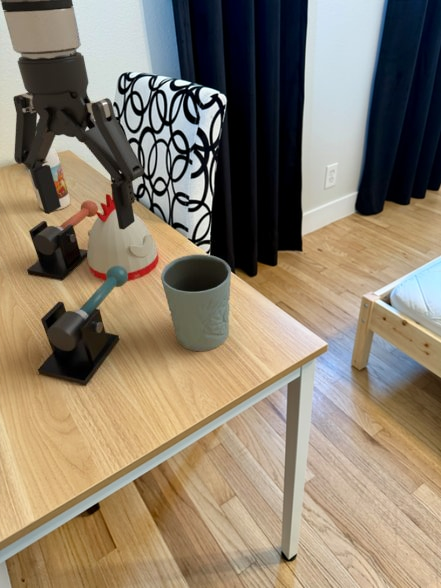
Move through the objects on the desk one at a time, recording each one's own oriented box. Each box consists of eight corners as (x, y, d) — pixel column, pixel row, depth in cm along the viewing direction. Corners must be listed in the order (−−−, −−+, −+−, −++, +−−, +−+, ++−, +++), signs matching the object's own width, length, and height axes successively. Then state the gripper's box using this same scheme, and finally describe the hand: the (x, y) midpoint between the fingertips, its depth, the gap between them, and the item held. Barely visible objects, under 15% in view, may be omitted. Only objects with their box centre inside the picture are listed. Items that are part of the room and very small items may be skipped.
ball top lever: (113, 279, 76) (108, 257, 73) (135, 282, 75) (131, 261, 72) (51, 347, 62) (43, 324, 60) (77, 353, 61) (70, 330, 58)
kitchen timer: (172, 256, 89) (164, 187, 80) (125, 289, 80) (110, 216, 71) (123, 238, 95) (111, 173, 86) (75, 268, 86) (55, 198, 77)
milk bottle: (45, 214, 106) (20, 131, 94) (35, 204, 111) (10, 124, 99) (75, 205, 110) (54, 125, 98) (64, 196, 115) (44, 118, 103)
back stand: (57, 249, 93) (47, 215, 88) (90, 254, 90) (82, 219, 86) (27, 274, 85) (14, 238, 80) (62, 280, 83) (51, 244, 78)
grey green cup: (243, 340, 68) (244, 278, 61) (186, 364, 64) (179, 301, 57) (213, 306, 75) (209, 247, 68) (159, 326, 71) (150, 265, 64)
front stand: (76, 330, 71) (64, 291, 66) (120, 339, 69) (111, 300, 64) (38, 374, 63) (21, 333, 59) (86, 386, 61) (73, 345, 56)
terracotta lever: (87, 213, 98) (82, 195, 95) (104, 215, 96) (100, 197, 94) (37, 253, 84) (30, 233, 81) (56, 256, 83) (50, 236, 80)
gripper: (157, 51, 49) (175, 220, 61) (-2, 46, 57) (42, 194, 70) (118, 62, 43) (146, 245, 56) (-51, 54, 52) (6, 214, 65)
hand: (88, 217), depth 63 cm, fingers open, 13 cm apart
